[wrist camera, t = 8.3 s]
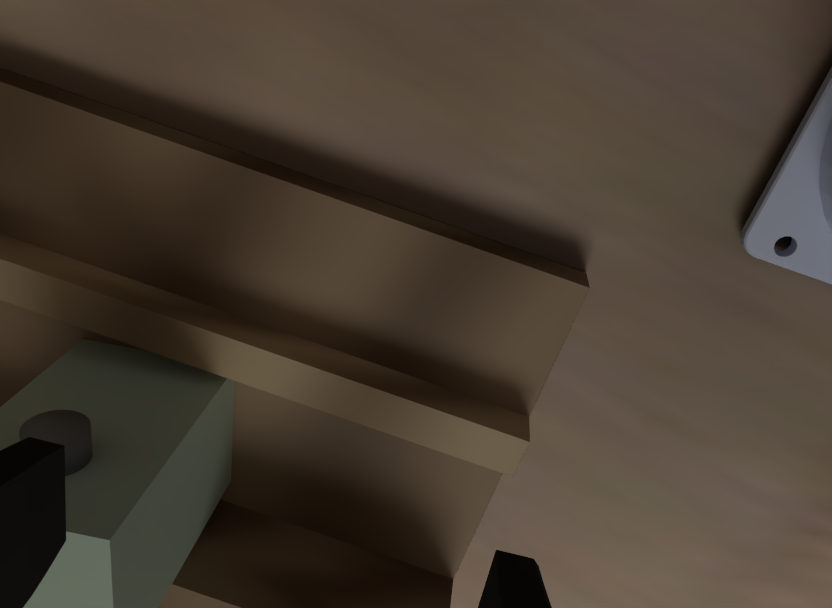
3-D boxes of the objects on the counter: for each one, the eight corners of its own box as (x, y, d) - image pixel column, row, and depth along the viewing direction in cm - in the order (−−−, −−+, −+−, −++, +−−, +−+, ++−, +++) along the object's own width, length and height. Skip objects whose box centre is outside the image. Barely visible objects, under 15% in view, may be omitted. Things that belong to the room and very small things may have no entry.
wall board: (586, 273, 19) (604, 352, 15) (440, 588, 24) (425, 710, 20) (-141, 18, 19) (-322, 29, 15) (-135, 390, 24) (-268, 475, 20)
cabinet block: (235, 342, 20) (107, 508, 14) (230, 480, 22) (117, 680, 16) (81, 313, 21) (-114, 463, 14) (89, 452, 23) (-78, 638, 16)
